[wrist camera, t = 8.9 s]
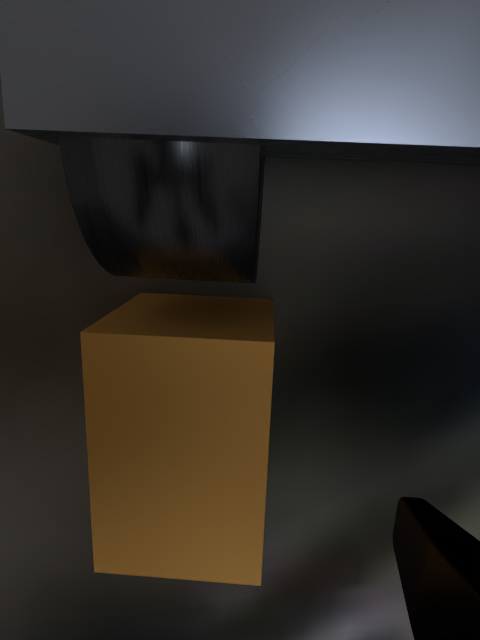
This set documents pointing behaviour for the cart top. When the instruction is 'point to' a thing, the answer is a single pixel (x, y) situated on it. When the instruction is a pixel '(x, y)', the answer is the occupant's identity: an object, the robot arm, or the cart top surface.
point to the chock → (179, 436)
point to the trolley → (228, 109)
